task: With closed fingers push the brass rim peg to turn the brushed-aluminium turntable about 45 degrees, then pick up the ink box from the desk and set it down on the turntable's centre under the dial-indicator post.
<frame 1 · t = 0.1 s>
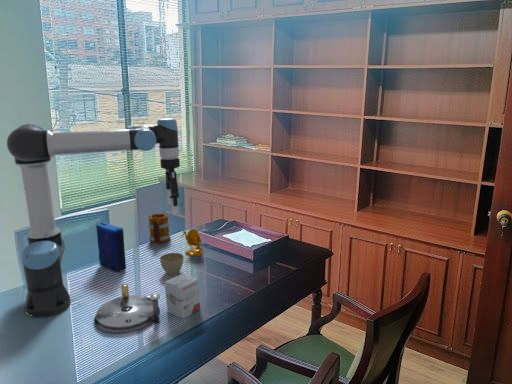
hand: (173, 208, 181), 28 cm above the table, fingers open, 13 cm apart
book: (113, 268, 193), on the table
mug: (159, 241, 224), on the table
turntable base: (127, 315, 154), on the table
figurine: (195, 253, 208), on the table
flower pot: (172, 273, 187), on the table
turntable: (126, 304, 153), point 4 cm above the table, hinge at 0.0°
ink box: (183, 310, 157), on the table
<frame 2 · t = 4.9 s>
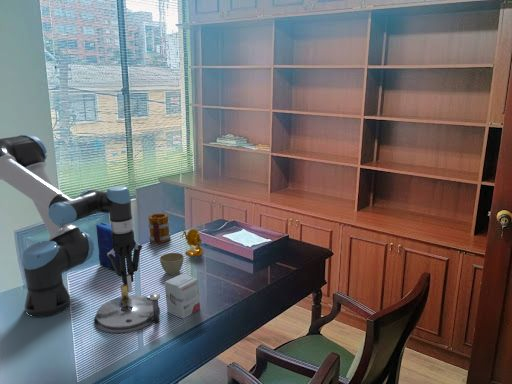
hand: (129, 290, 162), 5 cm above the table, fingers closed
turntable: (126, 304, 153), point 4 cm above the table, hinge at 1.4°, touching gripper
everything else where it was.
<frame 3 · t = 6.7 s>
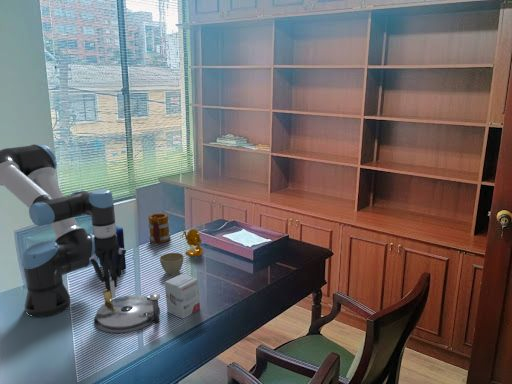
hand: (112, 296, 158), 5 cm above the table, fingers closed
turntable: (126, 304, 153), point 4 cm above the table, hinge at 45.4°, touching gripper
everything else where it was.
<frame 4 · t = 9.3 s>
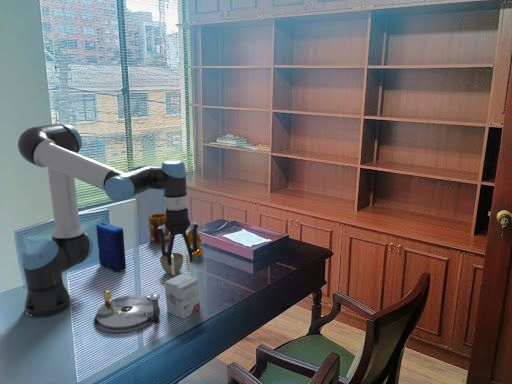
hand: (180, 271, 153), 15 cm above the table, fingers open, 5 cm apart
turntable: (126, 304, 153), point 4 cm above the table, hinge at 45.5°
everything else where it was.
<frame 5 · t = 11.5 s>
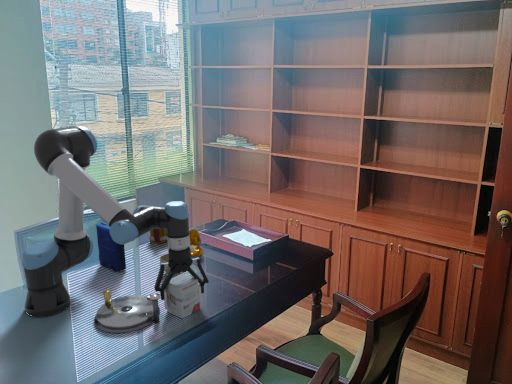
hand: (183, 304, 156), 2 cm above the table, fingers closed on ink box, 11 cm apart
ink box: (183, 310, 157), on the table, touching gripper
everything else where it was.
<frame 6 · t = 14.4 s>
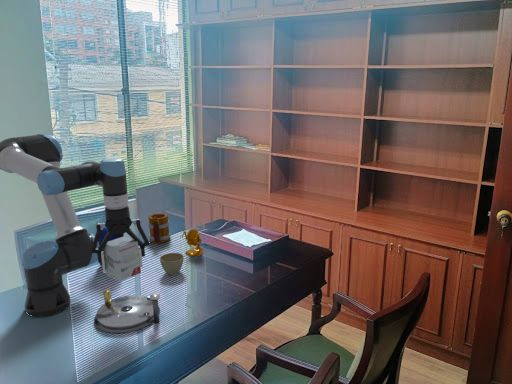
hand: (123, 268, 149), 18 cm above the table, fingers closed on ink box, 11 cm apart
ink box: (123, 274, 150), point 15 cm above the table, touching gripper
everything else where it was.
when the fingers open (6 cm above the table, at t = 17.2 s): ink box drops 1 cm, resting on turntable.
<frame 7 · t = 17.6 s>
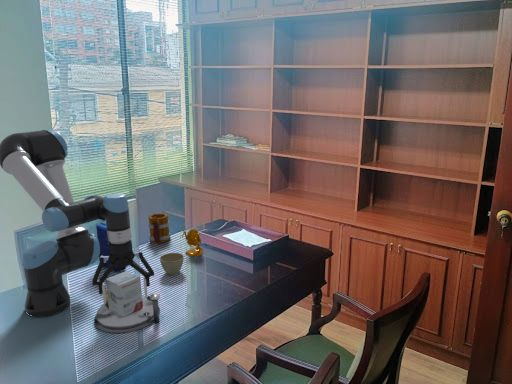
hand: (125, 298, 152), 7 cm above the table, fingers open, 13 cm apart
turntable: (126, 304, 153), point 4 cm above the table, hinge at 45.5°, touching ink box
ink box: (126, 309, 153), point 3 cm above the table, touching turntable
everything else where it was.
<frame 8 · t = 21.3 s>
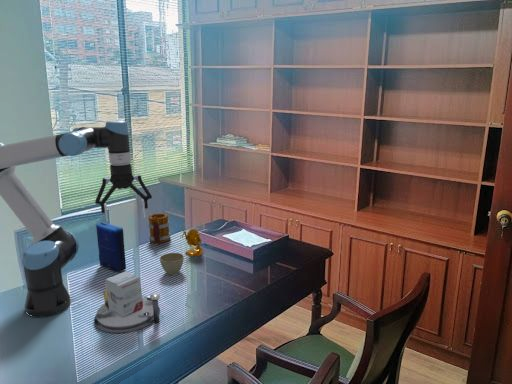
hand: (125, 219, 167), 29 cm above the table, fingers open, 13 cm apart
nothing on the table moved.
at the end: turntable at +46° (first picture: +0°); ink box inside the target area on the turntable (0.3 cm from its centre), point 2.6 cm above the turntable's base; ink box tilted 0° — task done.
